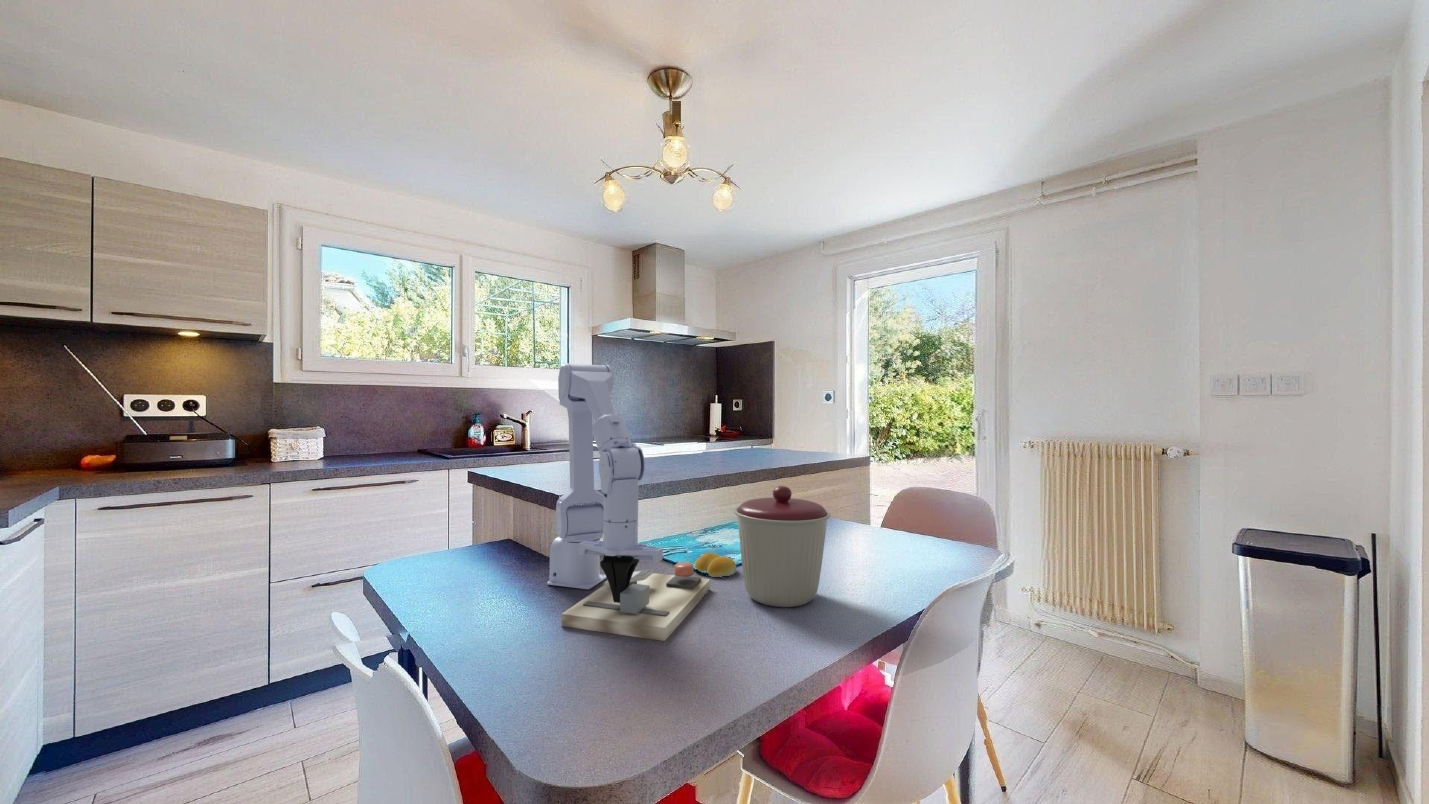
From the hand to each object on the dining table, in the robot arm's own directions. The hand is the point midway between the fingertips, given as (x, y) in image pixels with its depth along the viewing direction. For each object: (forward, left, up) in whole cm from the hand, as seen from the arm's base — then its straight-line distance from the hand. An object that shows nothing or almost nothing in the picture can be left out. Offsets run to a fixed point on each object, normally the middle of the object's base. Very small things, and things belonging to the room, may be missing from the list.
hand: (619, 600), depth 90 cm
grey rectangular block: (+3, 0, -1) cm, 3 cm away
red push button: (+6, +15, +1) cm, 16 cm away
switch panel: (+1, +7, -3) cm, 8 cm away
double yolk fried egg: (+8, +30, -4) cm, 31 cm away
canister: (+24, +19, -4) cm, 31 cm away
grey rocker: (-3, +10, 0) cm, 10 cm away
